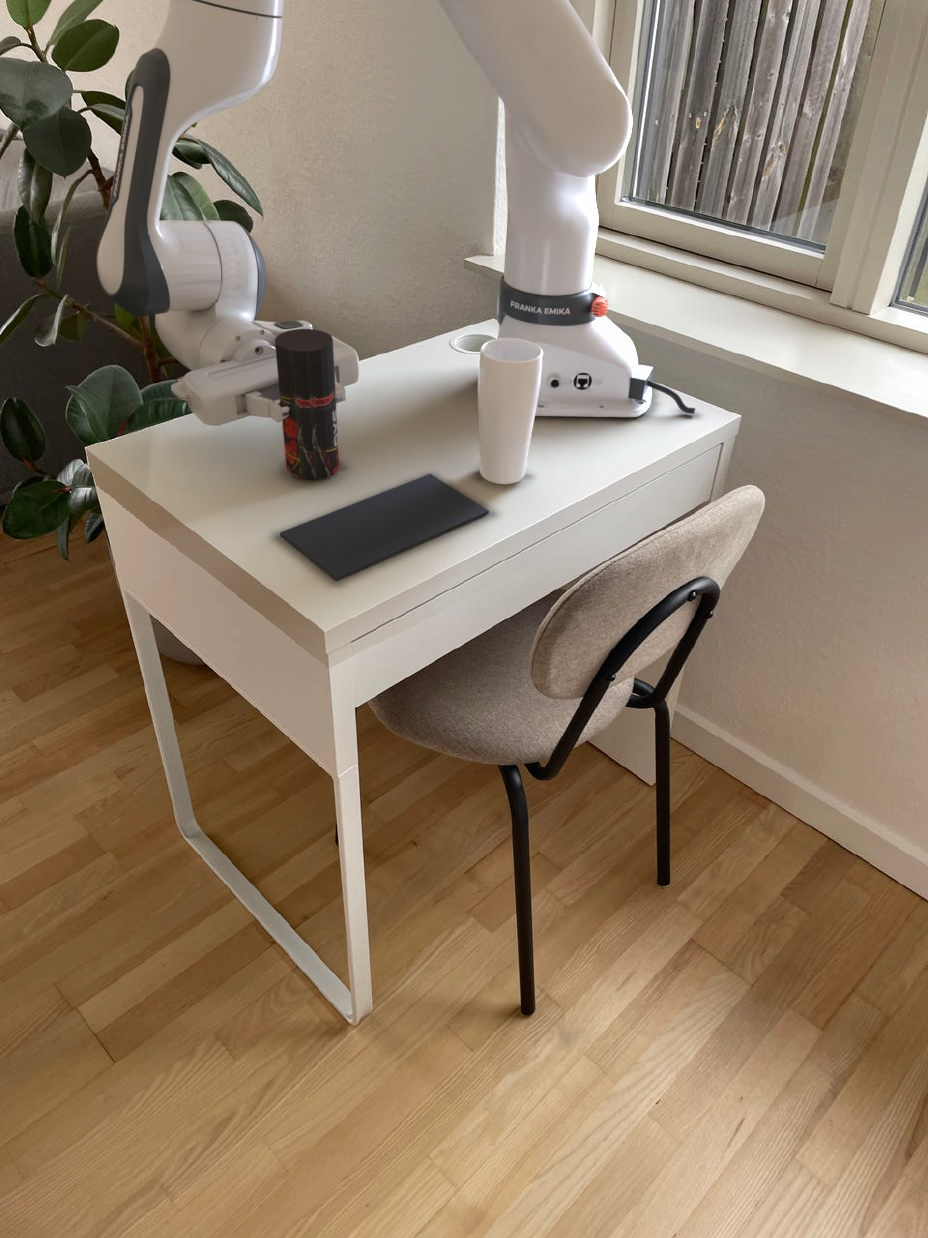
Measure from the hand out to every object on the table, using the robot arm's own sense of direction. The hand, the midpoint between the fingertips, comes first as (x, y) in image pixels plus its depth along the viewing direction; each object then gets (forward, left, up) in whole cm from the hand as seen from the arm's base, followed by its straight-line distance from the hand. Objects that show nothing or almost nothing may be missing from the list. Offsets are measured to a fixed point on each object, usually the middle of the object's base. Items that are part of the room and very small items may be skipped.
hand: (313, 404), depth 100 cm
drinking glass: (-21, -4, -9) cm, 23 cm away
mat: (-10, +9, -8) cm, 16 cm away
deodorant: (+1, -1, -8) cm, 8 cm away
